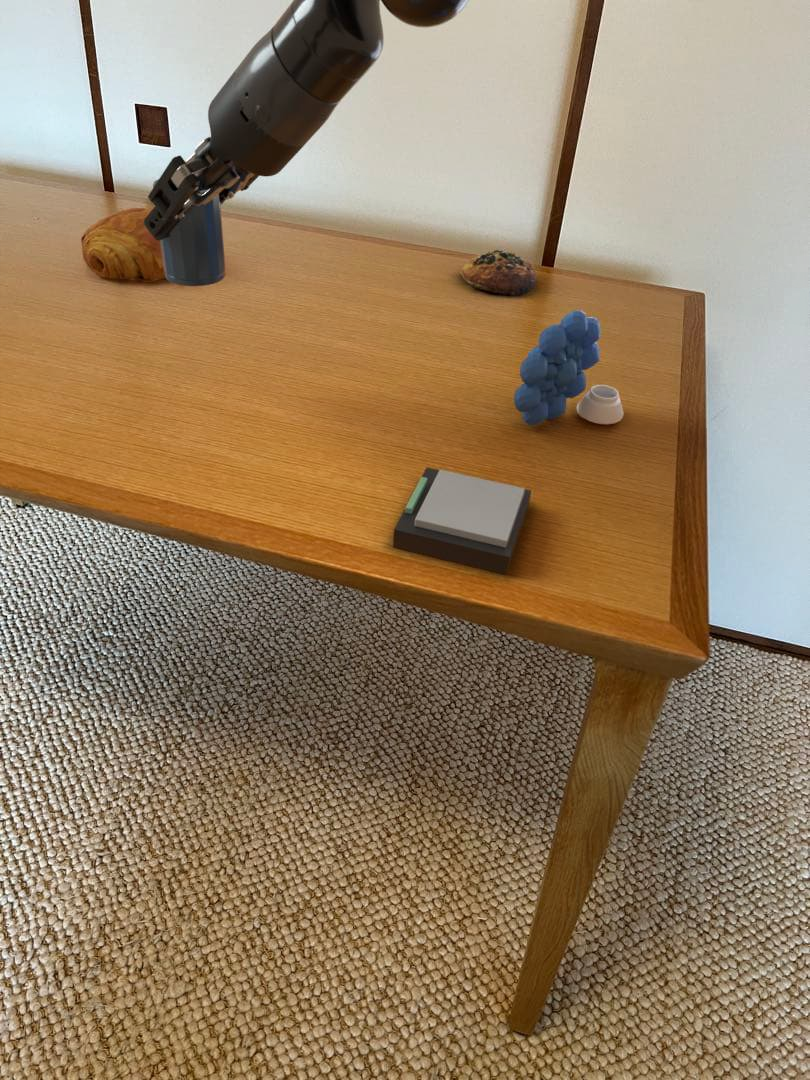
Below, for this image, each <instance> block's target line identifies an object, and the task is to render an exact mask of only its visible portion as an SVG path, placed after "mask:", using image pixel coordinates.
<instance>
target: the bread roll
mask: <svg viewBox="0 0 810 1080" xmlns="http://www.w3.org/2000/svg"><path fill="white" fill-rule="evenodd" d="M459 273H460V275H461V276H462V278H463V280H464V282H465V283H467V284H468V285H470V287H472V288H475V289H478V290H483V291H487V292H489V293H493V294H501V295H509V296H513V297H514V296H515V297H516V296H521V295H524V294H526V293H528V292H530V291H531V290H533V287H534V286H535V284H536V282H537V273H536V270H535V267H534V266H533V264H532V263H530V262H529V261H528V260H527V259H524V258H523V257H521V256H518V255H517V254H516V253H514V252H512V251H511V252H510V251H505V250H499V249H495V250H494V251H487V252H485V254H481V255H477V256H475V257H473V258H471V259H469V260H468V261H467V262H466V263H465V264H463V266H462V268H461V270H460V272H459Z"/></svg>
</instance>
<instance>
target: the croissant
mask: <svg viewBox="0 0 810 1080" xmlns="http://www.w3.org/2000/svg"><path fill="white" fill-rule="evenodd" d="M151 211H152V209H148V208H144V207H131V208H127V209H122V210H118V211H115V212H113V213H111V214H110V215H108V216H106V217H103V218H101V219H100V220H98V221H97V222H96V223H94V224H92V225H91V226H90V227H89V228H87V229H86V231H85V232H84V233H83V234H82V235H81V239H80V240H81V250H82V258H83V260H84V263H85V265H86V266H87V267H88V269H90V271H92V272H93V273H95V275H97V276H99V277H101V278H110V279H119V280H124V279H127V280H129V281H136V280H139V282H143V283H149V282H156V281H159V280H161V279H166V277H165V272H164V268H163V261H162V253H161V245H160V241H157V240H156V239H155V238H154V237H153V236H152V234H151V233H150V232H149V230H148V229H147V228H146V226H145V224H144V220H145V218H146V217H147V216H148V214H149V213H150V212H151Z"/></svg>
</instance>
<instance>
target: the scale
mask: <svg viewBox="0 0 810 1080" xmlns="http://www.w3.org/2000/svg"><path fill="white" fill-rule="evenodd" d="M531 495H532V490H530V489H527V488H525V487H521V486H516V485H512V484H507V483H502V482H498V481H494V480H489V479H485V478H480V477H475V476H471V475H468V474H462V473H457V472H453V471H449V470H445V469H436V468H432V467H431V468H430V467H426V468H425V469H424V471H423V472H422V475H421V477H420V479H419V481H418V483H417V485H416V487H415V489H414V490H413V493H412V494H411V496H410V498H409V500H408V502H407V504H406V506H405V508H404V509H403V511H402V513H401V515H400V517H399V518H398V521H397V523H396V525H395V526H394V529H393V538H392V539H393V540H392V548H395V549H399V550H403V551H407V552H411V553H415V554H419V555H424V556H426V557H427V556H428V557H432V558H436V559H440V560H443V561H448V562H452V563H456V564H460V565H465V566H468V567H472V568H476V569H481V570H485V571H489V572H492V573H497V574H500V575H505V576H506V575H507V574H508V572H509V568H510V565H511V562H512V560H513V556H514V552H515V549H516V546H517V543H518V540H519V538H520V535H521V531H522V528H523V525H524V521H525V518H526V516H527V513H528V511H529V510H528V509H529V505H530V500H531Z"/></svg>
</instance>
